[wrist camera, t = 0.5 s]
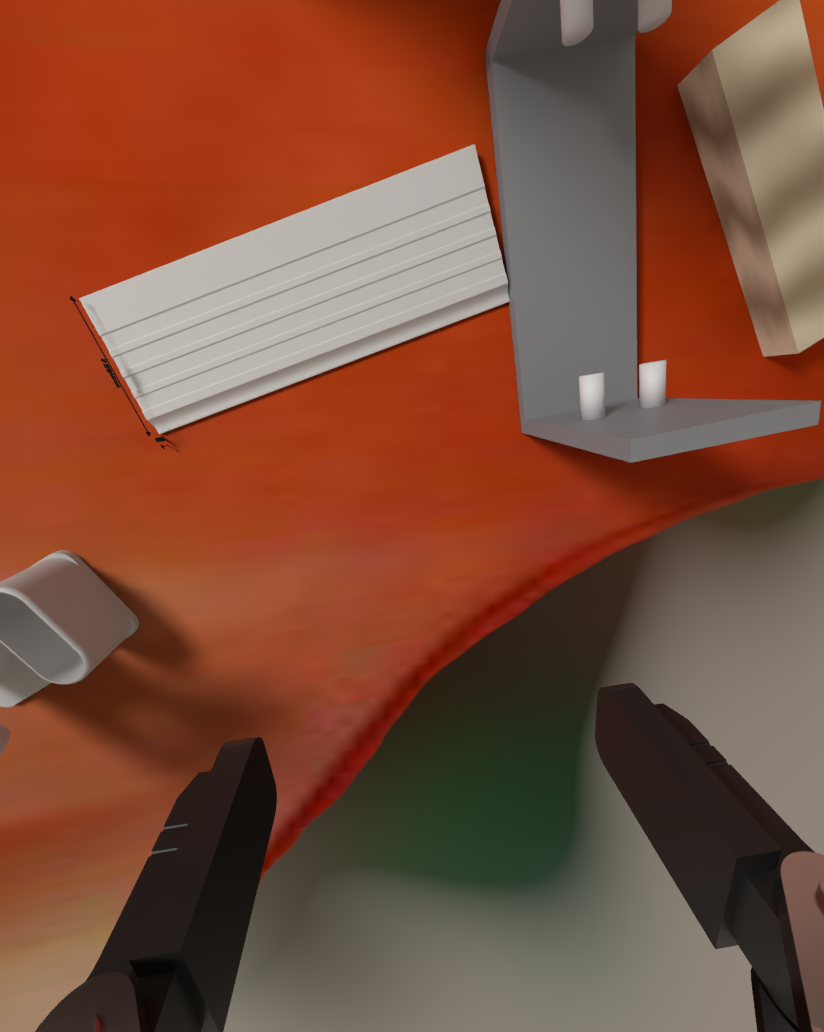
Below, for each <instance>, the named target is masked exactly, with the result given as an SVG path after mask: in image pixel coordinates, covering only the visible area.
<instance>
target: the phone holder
mask: <svg viewBox="0 0 824 1032" xmlns="http://www.w3.org/2000/svg"><path fill="white" fill-rule="evenodd" d="M138 627H139V620H138V618H137V616H136V615H135V614H134V613H133V612H132V611H131V610H130V609H129V608H128V607H127V606H126V605H125V604H124V603H123V602H122V601H121V600H120V599H119V598H118V597H117V596H116V595H115V593H114V592H113V591H112V590H111V589H110V588H109V587H108V586H107V585H106V584H105V583H104V582H103V581H102V580H101V579H100V578H99V577H98V576H97V575H96V574H95V573H94V572H93V571H92V570H91V569H90V568H89V567H88V566H87V565H86V564H85V563H84V562H83V561H82V559H81V558H80V557H79V556H77V555H76V554H75V553H73V552H70V551H67V550H60V551H56V552H54V553H52V554H50V555H48V556H47V557H45V558H44V559H42V560H40V561H39V562H37V563H36V564H34V565H32V566H31V567H29V568H28V569H26V570H24V571H22V572H20V573H18V574H16V575H14V576H12V577H10V578H8V579H6V580H4V581H2V582H0V707H11V706H14V705H15V704H17V703H19V702H21V701H22V700H24V699H26V698H27V697H29V696H31V695H32V694H34V693H36V692H37V691H39V690H41V689H42V688H44V687H46V686H47V685H49V684H51V683H56V684H73V683H76V682H79V681H81V680H82V679H84V678H85V677H86V676H87V675H88V674H89V673H90V672H91V671H93V670H94V669H95V668H96V667H97V666H98V665H99V664H100V663H101V662H102V661H103V660H104V659H105V658H106V657H107V656H108V655H109V654H110V653H111V652H112V651H113V650H114V649H115V648H116V647H117V646H118V645H119V644H120V643H121V642H122V641H123V640H125V639H126V638H128V637H130V636H131V635H132V634H133V633H134V632H135V631H136V630H137V629H138ZM9 737H10V730H9V729H7V728H6V727H4V726H3V725H1V724H0V755H1V753H2V752H3V750H4V748H5V746H6V744H7V742H8V740H9Z"/></svg>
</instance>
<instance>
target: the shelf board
mask: <svg viewBox="0 0 824 1032" xmlns="http://www.w3.org/2000/svg"><path fill="white" fill-rule="evenodd" d="M677 86H678V89H679V93H680V96H681V99H682V102H683V105H684V108H685V112H686V115H687V118H688V121H689V124H690V127H691V130H692V134H693V137H694V140H695V143H696V146H697V149H698V153H699V156H700V159H701V162H702V165H703V168H704V171H705V175H706V178H707V181H708V184H709V187H710V190H711V193H712V197H713V200H714V203H715V206H716V209H717V212H718V216H719V219H720V222H721V225H722V228H723V231H724V234H725V238H726V241H727V244H728V247H729V250H730V253H731V257H732V260H733V263H734V266H735V269H736V272H737V275H738V279H739V282H740V285H741V288H742V291H743V294H744V298H745V301H746V304H747V307H748V310H749V313H750V316H751V320H752V323H753V326H754V329H755V332H756V335H757V339H758V342H759V345H760V348H761V351H762V354H763V357H767V356H777V355H788V354H798V353H800V352H802V351H803V350H805V349H807V348H808V347H810V346H811V345H813V344H814V343H816V342H818V341H819V340H821V339H822V338H824V109H823V104H822V100H821V95H820V91H819V86H818V81H817V77H816V72H815V68H814V63H813V59H812V54H811V50H810V45H809V41H808V36H807V32H806V27H805V23H804V18H803V14H802V9H801V4H800V0H779V1H778V2H777V3H775V4H774V5H772V6H771V7H770V8H768V9H767V10H766V11H764V12H763V13H762V14H760V15H759V16H757V17H756V18H755V19H753V20H752V21H751V22H749V23H748V24H747V25H745V26H744V27H742V28H741V29H740V30H738V31H737V32H736V33H734V34H733V35H732V36H730V37H729V38H727V39H726V40H725V41H723V42H722V43H721V44H719V45H718V46H717V47H715V48H714V49H712V50H711V51H710V52H709V53H708V54H707V55H706V56H705V57H704V59H703V60H702V61H701V62H700V63H699V64H698V65H697V66H696V67H695V68H694V69H693V70H692V71H691V72H690V73H689V74H688V75H687V76H686V77H685V78H684V79H683V80H682V81H681V82H680V83H679V84H678V85H677Z"/></svg>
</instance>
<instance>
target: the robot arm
mask: <svg viewBox="0 0 824 1032" xmlns="http://www.w3.org/2000/svg"><path fill="white" fill-rule="evenodd" d="M597 695H598V696H597V710H596V729H595V740H596V745H597V749H598V752H599V755H600V758H601V760H602V762H603V764H604V766H605V768H606V769H607V771H608V773H609V774H610V776H611V778H612V779H613V781H614V782H615V784H616V786H617V787H618V789H619V791H620V792H621V794H622V796H623V797H624V799H625V801H626V802H627V804H628V806H629V807H630V809H631V811H632V812H633V814H634V816H635V817H636V819H637V821H638V822H639V824H640V825H641V827H642V829H643V830H644V832H645V834H646V835H647V837H648V839H649V840H650V842H651V844H652V845H653V847H654V849H655V850H656V852H657V854H658V855H659V857H660V859H661V860H662V862H663V863H664V865H665V867H666V868H667V870H668V872H669V873H670V875H671V877H672V878H673V880H674V882H675V883H676V885H677V887H678V888H679V890H680V891H681V893H682V895H683V897H684V898H685V900H686V902H687V903H688V905H689V906H690V908H691V910H692V911H693V913H694V915H695V916H696V918H697V920H698V921H699V923H700V925H701V926H702V928H703V929H704V931H705V932H706V934H707V936H708V938H709V939H710V941H711V943H712V944H713V946H714V948H715V949H719V948H724V947H729V946H735V945H739V947H740V948H741V950H742V952H743V953H744V955H745V956H746V958H747V959H748V961H749V962H750V964H751V965H752V968H751V983H752V991H753V1000H754V1008H755V1017H756V1025H757V1032H824V855H822V854H818V853H815V852H814V851H813V850H812V849H811V848H810V847H809V846H807V844H805V843H804V842H803V841H802V840H801V839H800V837H799V836H798V835H797V834H796V833H795V832H794V831H793V830H792V829H791V828H790V827H789V826H788V825H787V824H786V823H785V822H784V821H783V820H782V818H781V817H780V816H779V815H778V814H777V813H776V812H775V811H774V810H773V809H772V808H771V807H770V806H769V805H768V804H767V803H766V802H765V800H764V799H763V798H762V797H761V796H760V795H759V794H758V793H757V792H756V791H755V790H754V789H753V788H752V787H751V786H750V785H749V783H747V781H746V780H745V779H744V778H743V777H742V776H741V775H740V774H739V773H738V772H737V771H736V770H735V769H734V768H733V767H732V766H731V765H728V764H727V762H726V759H725V758H724V757H723V756H722V755H721V754H720V753H719V752H718V751H717V750H716V749H715V747H714V746H710V744H709V741H708V740H707V739H706V738H705V737H704V736H703V735H702V734H701V733H700V732H699V731H698V729H697V728H696V727H695V726H694V725H693V724H692V723H691V722H690V721H689V720H688V719H686V718H685V717H683V716H682V715H680V714H679V713H677V712H675V711H674V710H672V709H671V708H669V707H668V706H666V705H665V704H656V705H654V704H653V703H652V702H651V701H650V700H649V698H648V697H647V696H646V695H645V694H644V693H643V692H642V691H641V689H640V688H639V687H638V686H636V685H635V684H633V683H627V684H621V685H614V686H608V687H601V688H600V689H599V690H598V694H597ZM276 803H277V791H276V784H275V780H274V777H273V773H272V770H271V766H270V763H269V759H268V756H267V752H266V749H265V745H264V742H263V740H262V739H261V738H260V737H257V738H250V739H243V740H237V741H230V742H226V743H225V744H224V745H223V746H222V747H221V749H220V751H219V754H218V756H217V758H216V761H215V763H214V765H213V767H212V770H211V771H207V772H201V773H198V774H197V776H196V777H195V778H194V779H193V780H192V781H191V783H190V784H189V785H188V786H187V787H186V789H185V790H184V791H183V792H182V793H181V794H180V796H179V797H178V798H177V800H176V802H175V804H174V806H173V808H172V810H171V812H170V814H169V817H168V819H167V821H166V823H165V825H164V830H163V832H161V833H160V835H159V837H158V839H157V841H156V843H155V845H154V847H153V849H152V855H151V857H148V859H147V862H146V864H145V866H144V868H143V870H142V872H141V874H140V876H139V878H138V880H137V882H136V884H135V886H134V888H133V890H132V892H131V894H130V896H129V898H128V900H127V902H126V904H125V906H124V909H123V911H122V913H121V915H120V917H119V919H118V921H117V923H116V925H115V927H114V929H113V931H112V933H111V935H110V937H109V939H108V941H107V943H106V945H105V947H104V949H103V951H102V954H101V956H100V958H99V960H98V961H97V963H96V965H95V967H94V969H93V971H92V972H91V974H90V975H89V977H88V978H87V980H86V982H84V983H83V984H81V985H80V986H78V987H77V988H76V989H74V990H73V991H72V992H70V993H69V994H68V995H67V996H66V997H65V998H64V999H63V1000H61V1001H60V1002H59V1003H58V1004H57V1006H56V1007H55V1008H54V1009H53V1010H52V1011H51V1012H50V1013H49V1014H48V1015H47V1017H46V1018H45V1019H44V1020H43V1021H42V1023H41V1024H40V1025H39V1026H38V1028H37V1029H36V1031H35V1032H223V1030H224V1026H225V1022H226V1018H227V1013H228V1009H229V1005H230V1001H231V997H232V993H233V989H234V984H235V980H236V976H237V972H238V968H239V964H240V959H241V955H242V951H243V947H244V943H245V938H246V934H247V930H248V926H249V922H250V918H251V913H252V909H253V905H254V901H255V897H256V893H257V889H258V884H259V880H260V876H261V872H262V868H263V864H264V859H265V855H266V851H267V847H268V843H269V839H270V834H271V830H272V826H273V822H274V818H275V812H276Z"/></svg>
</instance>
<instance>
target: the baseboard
mask: <svg viewBox="0 0 824 1032" xmlns="http://www.w3.org/2000/svg"><path fill="white" fill-rule="evenodd" d="M79 299H80V301H81V303H82V305H83V307H84V308H85V310H86V312H87V314H88V316H89V317H90V319H91V321H92V323H93V324H94V326H95V328H96V330H97V332H98V333H99V335H100V336H101V337H102V339H103V341H104V343H105V345H106V346H107V348H108V351H109V353H110V355H111V357H112V358H113V359H114V361H115V363H116V364H117V366H118V368H119V370H120V373H121V374H122V376H123V378H124V379H125V380H126V382H127V384H128V386H129V388H130V389H131V391H132V394H133V396H134V398H135V399H136V400H137V402H138V404H139V405H140V407H141V409H142V412H143V414H144V416H145V417H146V419H147V421H149V422H150V423H151V424H152V425H153V426H154V427H155V428H156V430H157V431H158V433H159V434H162V433H165V432H168V431H170V430H173V429H176V428H178V427H181V426H183V425H186V424H189V423H191V422H194V421H197V420H199V419H202V418H205V417H207V416H210V415H213V414H215V413H218V412H220V411H223V410H226V409H228V408H231V407H234V406H236V405H239V404H242V403H244V402H247V401H249V400H252V399H255V398H257V397H260V396H263V395H265V394H268V393H271V392H273V391H276V390H278V389H281V388H284V387H286V386H289V385H292V384H294V383H297V382H300V381H302V380H305V379H307V378H310V377H313V376H315V375H318V374H321V373H323V372H326V371H329V370H331V369H334V368H336V367H339V366H342V365H344V364H347V363H350V362H352V361H355V360H358V359H360V358H363V357H366V356H368V355H371V354H373V353H376V352H379V351H381V350H384V349H387V348H389V347H392V346H395V345H397V344H400V343H402V342H405V341H408V340H410V339H413V338H416V337H418V336H421V335H424V334H426V333H429V332H431V331H434V330H437V329H439V328H442V327H445V326H447V325H450V324H453V323H455V322H458V321H460V320H463V319H466V318H468V317H471V316H474V315H476V314H479V313H482V312H484V311H487V310H489V309H492V308H495V307H497V306H500V305H503V304H505V303H508V302H510V299H509V295H508V280H507V276H506V273H505V269H504V265H503V261H502V255H501V251H500V249H499V245H498V240H497V236H496V230H495V227H494V224H493V220H492V216H491V210H490V206H489V203H488V199H487V195H486V191H485V185H484V181H483V177H482V173H481V169H480V164H479V160H478V156H477V152H476V148H475V144H474V145H471V146H468V147H466V148H463V149H461V150H458V151H456V152H453V153H450V154H448V155H445V156H443V157H440V158H438V159H435V160H433V161H430V162H427V163H425V164H422V165H420V166H417V167H415V168H412V169H410V170H407V171H404V172H402V173H399V174H397V175H394V176H392V177H389V178H386V179H384V180H381V181H379V182H376V183H374V184H371V185H369V186H366V187H363V188H361V189H358V190H356V191H353V192H351V193H348V194H346V195H343V196H340V197H338V198H335V199H333V200H330V201H328V202H325V203H323V204H320V205H317V206H315V207H312V208H310V209H307V210H305V211H302V212H299V213H297V214H294V215H292V216H289V217H287V218H284V219H282V220H279V221H276V222H274V223H271V224H269V225H266V226H264V227H261V228H259V229H256V230H253V231H251V232H248V233H246V234H243V235H241V236H238V237H235V238H233V239H230V240H228V241H225V242H223V243H220V244H218V245H215V246H212V247H210V248H207V249H205V250H202V251H200V252H197V253H195V254H192V255H189V256H187V257H184V258H182V259H179V260H177V261H174V262H171V263H169V264H166V265H164V266H161V267H159V268H156V269H154V270H151V271H148V272H146V273H143V274H141V275H138V276H136V277H133V278H131V279H128V280H125V281H123V282H120V283H118V284H115V285H113V286H110V287H107V288H105V289H102V290H100V291H97V292H95V293H92V294H90V295H87V296H84V297H82V298H79ZM70 300H72V301H73V302H74V301H76V300H75V299H74V298H73V297H72V296H70ZM76 302H77V301H76ZM74 304H75V305H76V303H75V302H74ZM76 307H77V305H76ZM77 309H78V307H77ZM78 311H79V312H80V310H79V309H78ZM80 314H81V312H80ZM81 316H82V314H81ZM82 318H83V316H82ZM83 319H84V318H83ZM84 321H85V319H84ZM85 323H86V321H85ZM86 325H87V323H86ZM87 327H88V328H89V326H88V325H87ZM89 330H90V328H89ZM90 332H91V330H90ZM91 334H92V335H93V333H92V332H91ZM93 337H94V335H93ZM94 339H95V337H94ZM95 341H96V339H95ZM96 342H97V341H96ZM97 344H98V342H97ZM98 346H99V344H98ZM99 348H100V346H99ZM100 350H101V351H102V349H101V348H100ZM102 353H103V351H102ZM103 355H104V353H103ZM104 357H105V355H104ZM105 358H106V357H105ZM106 360H107V358H106ZM106 360H105V359H101V361H102V362H105V363H107V362H108V360H107V362H106ZM108 364H109V362H108ZM108 364H106V365H105V364H103V365H104V367H105V368H107V367H108V368H107V369H106V370H107V372H108V373H110V375H111V377H112V379H113V380H118V378H117V376H116V374H115V372H114V371H113V369H112V367H111V365H110V364H109V365H110V367H111V369H112V370H111V369H110V367H109V365H108ZM109 370H110V371H109ZM112 371H113V373H114V374H115V376H116V378H117V379H116V378H115V376H112V375H114V374H113V373H112ZM118 381H119V380H118ZM118 381H114V382H115V384H116V386H117V387H122V385H121V383H120V381H119V383H120V385H121V386H118V385H119V383H116V382H118ZM122 388H123V387H122ZM123 390H124V388H123ZM124 392H125V390H124ZM125 394H126V392H125ZM126 396H127V394H126ZM127 397H128V396H127ZM128 399H129V397H128ZM129 401H130V399H129ZM130 403H131V401H130ZM131 404H132V403H131ZM132 406H133V404H132ZM133 408H134V406H133ZM134 410H135V408H134ZM135 411H136V410H135ZM136 413H137V411H136ZM137 415H138V413H137ZM138 417H139V415H138ZM139 419H140V417H139ZM140 420H141V419H140ZM141 422H142V420H141ZM142 424H143V422H142ZM143 426H144V424H143ZM144 427H145V426H144ZM145 429H146V427H145ZM146 431H147V429H146ZM146 434H148V435H149V436H150V432H148V431H147V432H146ZM162 437H163V436H162ZM162 437H159V438H155V440H156V441H157V442H160V441H165V439H164V438H162ZM166 446H168V445H166ZM161 447H162V448H163V449H164V446H163V445H162V444H161Z"/></svg>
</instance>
